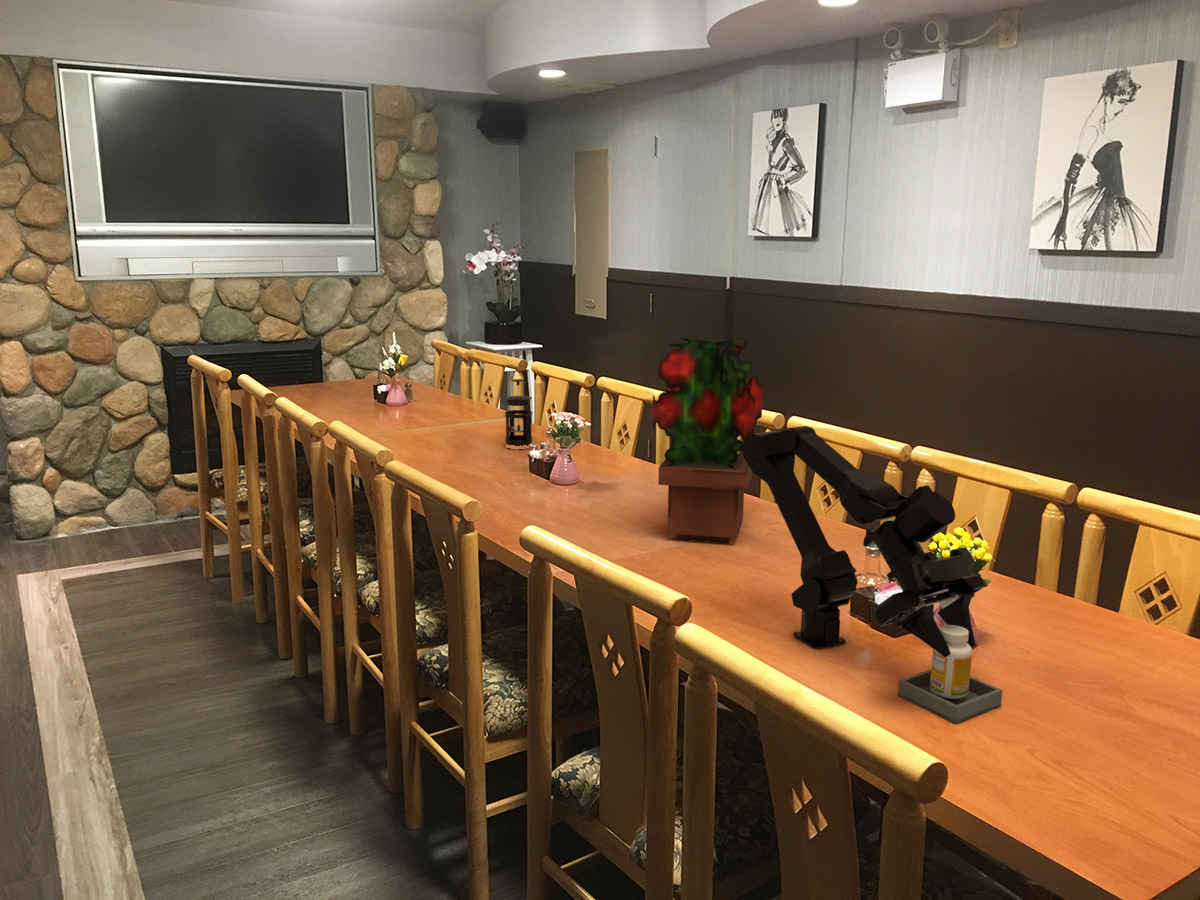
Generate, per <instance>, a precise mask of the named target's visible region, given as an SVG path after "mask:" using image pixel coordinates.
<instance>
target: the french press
mask: <svg viewBox="0 0 1200 900" xmlns="http://www.w3.org/2000/svg"><path fill="white" fill-rule="evenodd" d="M511 381H512V382H515V383H516V386H517V395H511V396H510V395H509V396H506V397H504V400H505V405H506V406H510V407H512V406H513V407H517V409H511V410H506V411H505V412H504V417H505V433H506V434H505V445H506V444H508V445H515V446H520V445H521V446H523V445H527V446H528V445H529V444H530V443H532V444H533V436H532V417H533V412H532V410H526V409H520V407H523V406H525V407H526V406H530V405H531V400H532V398H533V397H532V396H528V395H520V393H519V391H520V390H519V387H520V383H521V382H525V380H524V379H520V378H517V379H516V378H514V379H512V380H511ZM515 419H517V426H515ZM520 419H522V421H523V422H522V425H521V424H520ZM515 433H522V434H515Z"/></svg>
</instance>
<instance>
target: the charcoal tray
mask: <svg viewBox="0 0 1200 900" xmlns="http://www.w3.org/2000/svg"><path fill="white" fill-rule="evenodd" d="M930 677H931V668H930V669H927V670H924V671H922V672H918V673H916V674H913V675H910V676H907V677H905V678H902V679H899V680H898V688H897V696H898V697H899V698H902V699H904V701H905V700H906V701H908V702H910V703H912V704H913V705H916V706H917V707H920V708H922V709H924V710H925V711H928V712H930V713H932V714H934V715H937V716H938V717H941V718H942V719H944V720H946V721H948V722H950V723H952V724H954V725H957V724H960V723H963V722H966V721H968V720H970V719H973V718H975V717H977V716H980V715H983V714H985V713H988V712H990V711H993V710H995V709H997V708H999V707H1001V706H1002V701H1003V700H1002V699H1003V689H1001V688H998V687H996V686H994V685H992V684H990V683H987V682H986V681H983V680H980V679H977V678H975V677H974V676H971V675H970V680H969V691H968V694H967V696H966V697H964V698H960V699H950V698H944V697H941V696H938V695H936V694H935V693H933V692H932V691H931V689H930Z"/></svg>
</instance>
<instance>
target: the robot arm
mask: <svg viewBox="0 0 1200 900" xmlns="http://www.w3.org/2000/svg"><path fill="white" fill-rule="evenodd" d="M741 454H743V457H744V459H745V461H746V462H747V464H748V465H749V467H750V469H751V470H752V472H753V474H754V475H756V477H758V478H760V480H762V481H763V482H764V483H766V484H767V486H768V487H769V490H770V492H771V495H772V496H773V498H774V501H775V503H776V505H777V507H778V510H779V512H780V513H781V516H782V517H783V520H784V523H785V524H786V526H787V528H788V530H789V533H790V535H791V537H792V539H793V541H794V543H795V545H796V548H797V550H798V553H799V554H800V557H801V564H800V579H801V581H802V584H801V585H800V586H799V587H798V588H796V589H795V590H794V591H793V592H791V594H790V595H791V600H792V605H793V607H795V608H797V609H800V610H801V619H800V620H801V622H800V623H801V624H800V630H799V631H794V632H793V634H792V635H793V637H795V638H797V640H800V641H802V642H803V643H805V644H806V645H808V646H809V647H811V648H813V649H822V648H823V649H824V648H827V647H832V646H837V645H842V644H843V645H844V644H846V639H845V638H843V637H842V636H840V629H841V619H840V615H841V609H840V608H839V607H842V606H848V605H849V604H850V602H851V599H852V597H853V596H854V595H855V593H856V590H857V585H858V578H857V575H856V573H857V569H856V568H855V567H854V566H853V564H852V562H851V559H850V557H849V554H848V553H847V551H846V549H845V550H843V549H842V550H839V551H837V550H835V549H834V548H833V547H831V546H830V545H829V543H828V540H827V539H826V536H825V534H824V532H823V530H822V528H821V526H820V523H819V521H818V519H817V518H816V515H815V514H814V512H813V510H812V507H811V506H810V503H809V501H808V499H807V497H806V495H805V493H804V491H803V488H802V487H801V484H800V482H799V480H798V478H797V476H796V474H795V463H796V457H797V458H798V459H799V460H801V461H802V462H803V463H804V464H805V465H807V466H808V467H809V468H810V469H811V470H812V471H813V473H816V475H818V476H819V477H820V478H821V479H823V481H824V482H826V484H828V485H829V486H830V487H831V488H832V489H834V491H835V492H836V493H837V494H838V497H839V501H840V504H841V506H842V507H843V509H844V510H845V511H846V512H847V514H848V515H849V516H850V518H851V519H852V520H853V521H854V522H855V523H857V524H860V525H866V524H871V523H874V522H875V523H877V522H881V521H883V522H882V523H881V524H880V525H878V526H877V527H876V526H875V527H870V528H866V530H865V536H864V538H863V543H862V545H863V547H865V548H867V547H870V546H876V547H877V549H878V550H879V552H880V555H881V556H882V557H883V560H884V561H885V564H886V565H887V566H888V568H889V570H890V571H889V572H888V573H887V574H886V576H887V578H888V580H889V581H893V580H896V582H897V584H898V585H899V587H900V589H901V592H900V591H899V592H896V593H893V594H892V595H891V596H889V597H888V598H886V599H884V600H883V601H882V602H880V603H879V604H878V605H876V606H875V607H874V617H875V619H876V621H877V623H878V625H879V626H880V628H881V627H885V626H888V625H891V624H894V623H895V622H896V617H898V616H899V619H900V621H898V622H897V623H896V624H895V625H896V627H897V628H902V629H904V630H905V631H907V632H908V633H910V634H912V635H913V636H915V637H916V638H918V639H919V640H921V641H922V642H923V643H925V644H926V645H927V646H929V647H930V648H931V649H932V650H933V649H934V650H936V651H937V652H938V653H940V654H941V655H942V656H944V657H947V656H949V655H950V654H951V653H950V650H949V648H948V645H947V643H946V641H945V639H944V637H943V635H942V633H941V632H940V627H939V625H938V624H937V622H936V620H935V618H934V616H935V615H934V614H935V613H934V612H935V604H937V603H939V605H940V607H941V608H942V609H940V610H938V611H937V614H938V615H939V616H940V618H941V619H942V620H943V621H944V623H946V625H956V626H961V627H963V628H965V629H967V630H968V631H969V637H968V642H966V643H968V644H969V645H970V647H971V648H972V649H973V648H974V647H976V639H975V636H974V635H975V634H974V631H973V630H974V629H973V626H972V622H971V615H970V605H971V601H972V599H973V598H974V597H975V594H976V593H978V592H979V591H981V590H982V589H984V588H985V587H986V584H985V583H984V581H983V579H982V578H981V576H980V575H979V574H977V573H974V572H972V569H971V568H974V566H975V563H976V560H975V558H974V557H973V555H972V553H971V552H970V550H968V548H967V547H966V546H963V547H962V546H961V547H957V548H954V549H951V550H950V552H949V556H947V557H942V558H937V556H936V554H935V552H932V551H927V552H925V550H924V549H923V547H922V545H921V544H920V543H927V542H928V541H929V540H931V539H933V537H935V536H936V535H938V534H939V533H940V532H942V531H943V530H945V528H947V527H948V526H949V525H950V524H952V523H954V521H955V520H956V519H955V518H956V512H955V508H954V506H953V504H952V503H951V501H950V500H948V499H947V498H946V497H944V496H943V495H941V494H940V493H939V492H937V491H934V490H932V488H931V486H930V485H929V484H926V485H922V486H918V487H917V488H915V489H914V491H913V492H912V493H911V494H910V495H909V496H907V495H904V494H902V493H900V492H898V490H897V489H896V488H895V486H893V485H892V484H890V483H888V482H887V481H885V480H883V479H882V478H880V477H878V476H875V475H872V474H869V473H866V472H863V471H862V470H860V469H858V468H857V467H855V466H854V464H852V463H851V462H850V461H848V460H847V459H846V457H844V456H843V455H841V454H840V453H839V452H838V451H837V450H836V449H835V448H833V447H832V446H831V445H830V444H829V443H827V442H826V441H825V440H823V438H821V437H820V436H819V435H818V434H817V432H816V430H815V429H814V428H813V427H812V426H808V425H800V426H794V427H793V426H791V427H788V428H787V429H784V430H782V431H781V430H772V431H771V430H769V431H763V432H754V434H750V435H748V436H747V437H746V438H745V441H743V446H742V450H741ZM894 517H895V519H893V518H894ZM890 519H893V520H890Z"/></svg>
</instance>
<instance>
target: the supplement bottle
mask: <svg viewBox="0 0 1200 900" xmlns="http://www.w3.org/2000/svg"><path fill="white" fill-rule="evenodd" d="M939 630H940V632H941V633H942V635H943V637H944V639H945V641H946V643H947V645H948V648H949V650H950V653H951V654H950V655H949V656H947V657H944V656H942V655H941V654H940V653H938V652H937V651H936V650H934V649H933V648H932V655H931V665H930V666H931V667H930V669H931V677H930V689H931V691H932V692H933V693H935V694H936V695H938V696H941V697H944V698H950V699H960V698H964V697H966V696H967V694H968V691H969V680H970V676H971V669H972V659H973V650H972V649H973V648H971V647H970V645H969V644H968V643H966V642H968V637H969V631H968V630H967V629H965V628H963V627H961V626H956V625H948V624H945V625H941V626H940V627H939Z"/></svg>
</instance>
